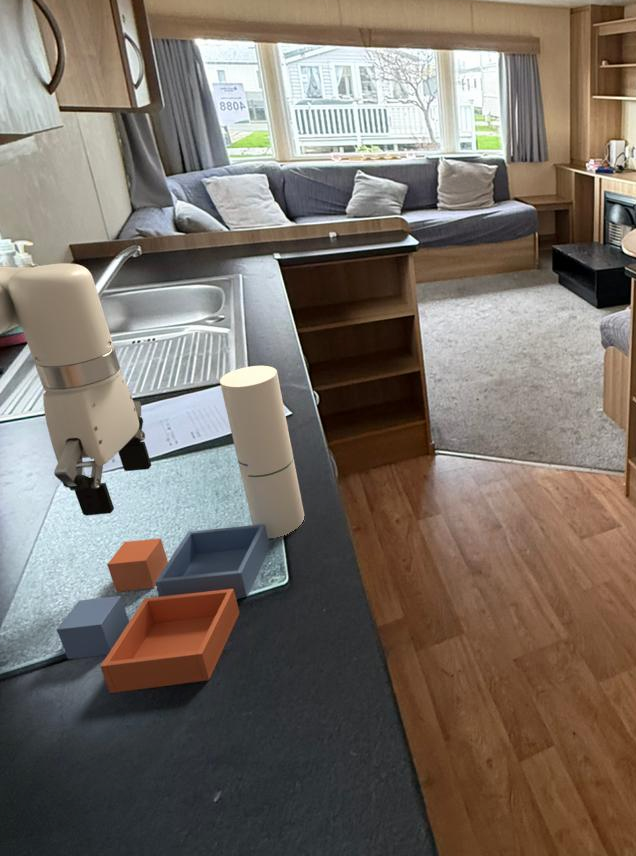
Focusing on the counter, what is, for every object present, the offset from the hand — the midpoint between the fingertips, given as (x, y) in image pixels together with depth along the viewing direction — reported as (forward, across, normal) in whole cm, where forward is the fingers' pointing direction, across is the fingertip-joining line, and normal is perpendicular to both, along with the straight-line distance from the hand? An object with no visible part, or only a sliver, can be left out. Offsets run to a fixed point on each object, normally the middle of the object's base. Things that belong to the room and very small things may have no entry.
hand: (119, 489), depth 83 cm
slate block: (+14, +11, -1) cm, 18 cm away
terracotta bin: (+14, +14, +9) cm, 22 cm away
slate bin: (+14, +1, +9) cm, 17 cm away
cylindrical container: (+15, -10, +14) cm, 23 cm away
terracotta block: (+14, 0, -1) cm, 14 cm away
